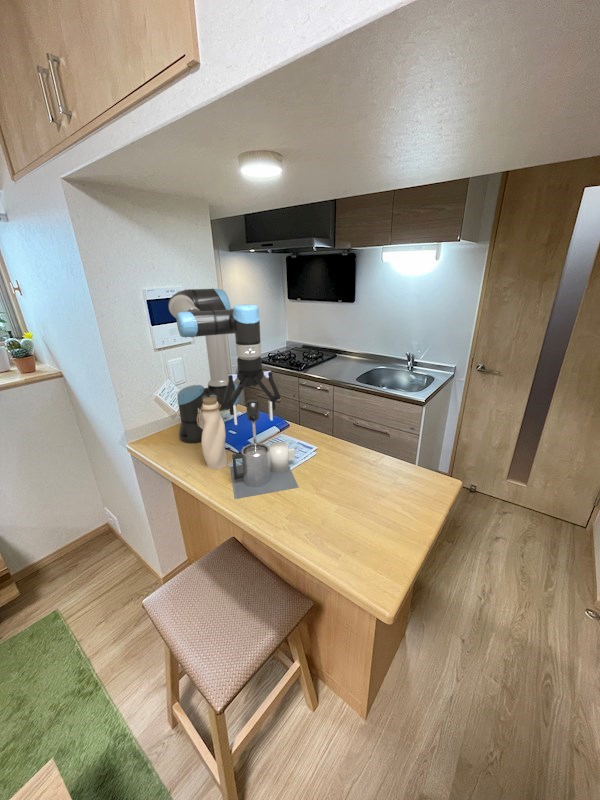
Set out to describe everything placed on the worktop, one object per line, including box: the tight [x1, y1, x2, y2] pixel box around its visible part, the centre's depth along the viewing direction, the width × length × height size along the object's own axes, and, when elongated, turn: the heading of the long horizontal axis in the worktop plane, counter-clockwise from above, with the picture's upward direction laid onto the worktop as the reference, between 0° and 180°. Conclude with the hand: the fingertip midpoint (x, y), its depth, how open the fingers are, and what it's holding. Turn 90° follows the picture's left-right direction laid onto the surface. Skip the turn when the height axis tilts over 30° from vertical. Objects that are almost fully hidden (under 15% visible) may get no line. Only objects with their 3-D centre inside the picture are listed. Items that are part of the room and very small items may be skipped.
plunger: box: [245, 398, 266, 456], centre depth 107 cm, size 7×7×19 cm
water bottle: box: [197, 397, 228, 471], centre depth 118 cm, size 10×9×28 cm
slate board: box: [229, 464, 300, 500], centre depth 116 cm, size 20×22×1 cm
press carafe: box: [231, 442, 271, 487], centre depth 111 cm, size 10×13×12 cm
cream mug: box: [268, 441, 296, 473], centre depth 119 cm, size 8×10×9 cm
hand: (253, 421), depth 106 cm, fingers open, 11 cm apart
